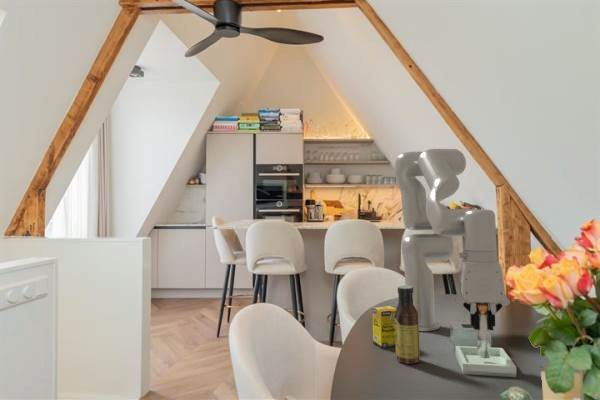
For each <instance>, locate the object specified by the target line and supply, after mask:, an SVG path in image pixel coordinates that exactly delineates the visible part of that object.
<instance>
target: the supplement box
mask: <svg viewBox="0 0 600 400" xmlns="http://www.w3.org/2000/svg"><path fill="white" fill-rule="evenodd" d="M396 310H397V308H395V307H393V306H391V305H388V306H377V307H376V306H374V307H372V344H375V345H376V346H377V347H378V348H380V349H388V348H396V342H395V313H396Z"/></svg>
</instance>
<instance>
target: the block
mask: <svg viewBox="0 0 600 400" xmlns="http://www.w3.org/2000/svg"><path fill="white" fill-rule="evenodd" d="M449 328H450V329H449V331H450V333H449V335H450V344H451V346H452V348H453V351H456V346H469V347H477V330H475V329H474V328H473V326H471V322H462V321H461V322H460V321H450V322H449ZM489 335H490V348H492V330H490V329H489Z"/></svg>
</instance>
